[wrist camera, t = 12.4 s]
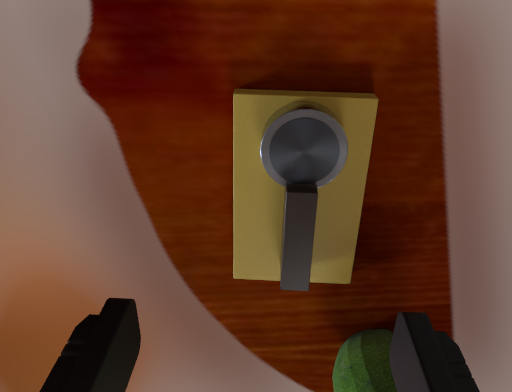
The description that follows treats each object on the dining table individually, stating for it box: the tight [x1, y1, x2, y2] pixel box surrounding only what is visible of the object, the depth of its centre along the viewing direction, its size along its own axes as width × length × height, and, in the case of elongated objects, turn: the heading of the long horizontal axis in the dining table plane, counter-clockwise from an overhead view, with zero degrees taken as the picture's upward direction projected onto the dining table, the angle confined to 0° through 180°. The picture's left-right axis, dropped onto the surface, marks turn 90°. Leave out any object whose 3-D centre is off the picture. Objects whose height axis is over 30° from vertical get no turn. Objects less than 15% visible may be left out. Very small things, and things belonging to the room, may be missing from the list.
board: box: [233, 89, 379, 284], centre depth 34 cm, size 16×10×2 cm, turn 179°
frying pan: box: [260, 101, 348, 291], centre depth 32 cm, size 14×6×3 cm, turn 179°
